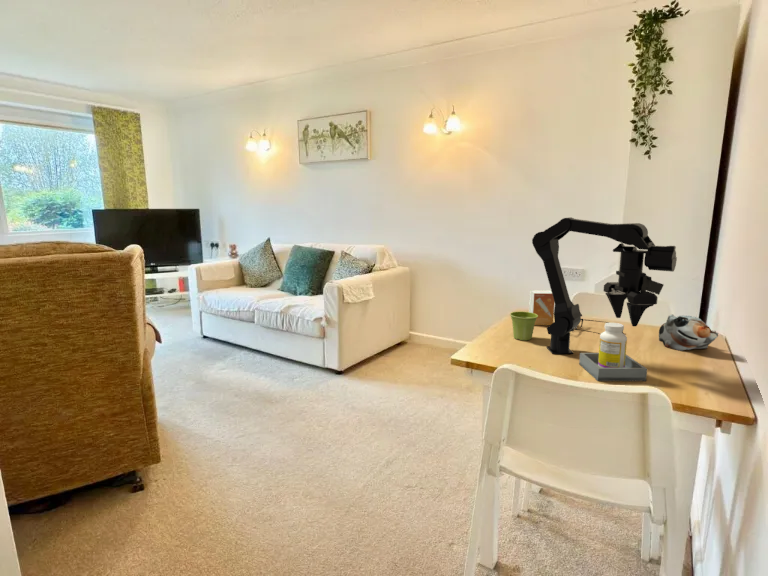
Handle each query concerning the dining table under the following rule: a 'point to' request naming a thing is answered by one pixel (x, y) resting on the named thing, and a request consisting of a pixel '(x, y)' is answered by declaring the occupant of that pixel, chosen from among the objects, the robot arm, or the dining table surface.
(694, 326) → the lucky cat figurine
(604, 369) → the tray
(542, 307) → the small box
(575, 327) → the eyeglasses
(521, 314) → the plant pot
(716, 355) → the dining table surface
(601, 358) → the supplement bottle
